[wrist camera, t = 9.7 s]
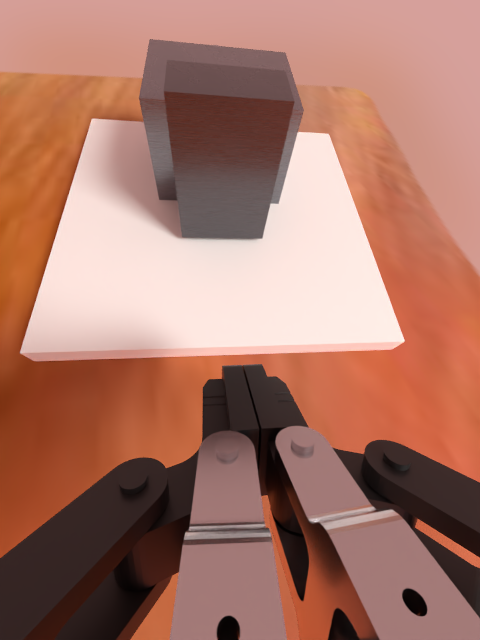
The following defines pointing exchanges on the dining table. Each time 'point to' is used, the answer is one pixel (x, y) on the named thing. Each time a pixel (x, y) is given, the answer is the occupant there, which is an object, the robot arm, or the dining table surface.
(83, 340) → the base board
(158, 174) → the block
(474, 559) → the dining table surface
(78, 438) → the dining table surface
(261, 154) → the shaft
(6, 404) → the dining table surface
